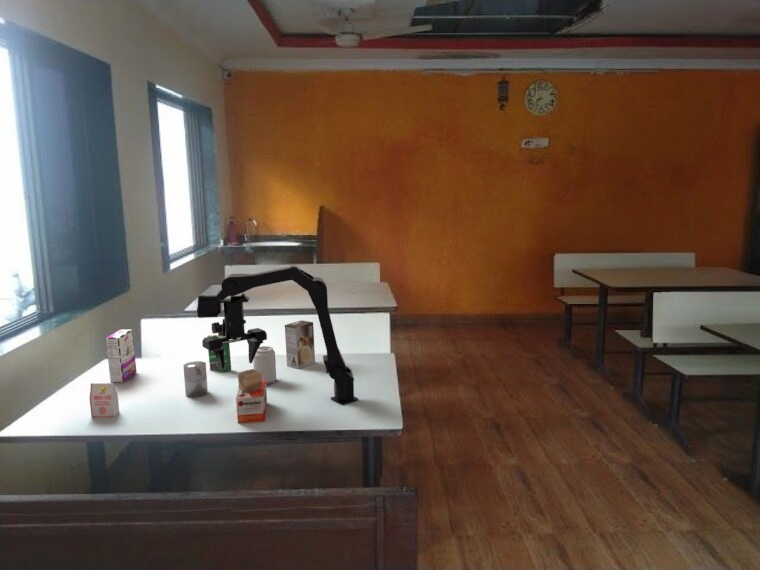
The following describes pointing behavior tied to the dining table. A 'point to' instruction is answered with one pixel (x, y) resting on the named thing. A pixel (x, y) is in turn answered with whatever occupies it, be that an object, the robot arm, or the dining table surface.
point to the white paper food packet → (103, 400)
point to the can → (265, 363)
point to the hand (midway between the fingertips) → (236, 366)
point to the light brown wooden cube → (250, 380)
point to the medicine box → (252, 405)
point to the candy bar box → (121, 356)
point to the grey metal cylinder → (195, 379)
